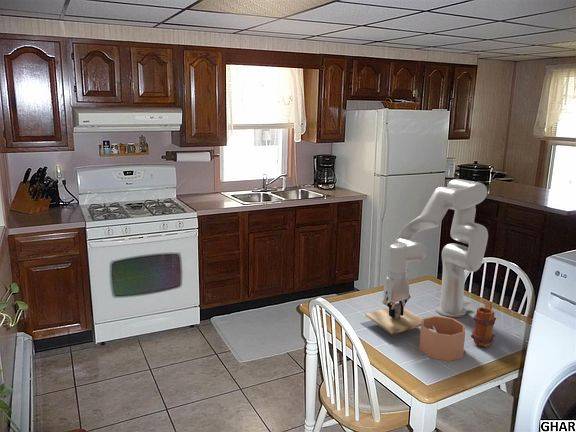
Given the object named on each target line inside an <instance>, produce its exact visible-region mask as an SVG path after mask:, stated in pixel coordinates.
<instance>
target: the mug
mask: <svg viewBox="0 0 576 432" xmlns="http://www.w3.org/2000/svg"><path fill="white" fill-rule="evenodd" d="M492 308H493V303H492V302H491V301H485V303H484V307H483V306H482V307H481V306H480V307H478V308H477V309H476V313H475V314H474V317H473V318H472V319H473V321H474V329H473V330H472V334H471V335H470V337H471V339H473V343H474V344H475V345H477V346H480V347H490V346H491V345H492V343H493V342H494V338H496V334H494V333H493V332H494V325H495V323H496V320H497V318H496V317H495V311H494V309H492Z"/></svg>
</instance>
